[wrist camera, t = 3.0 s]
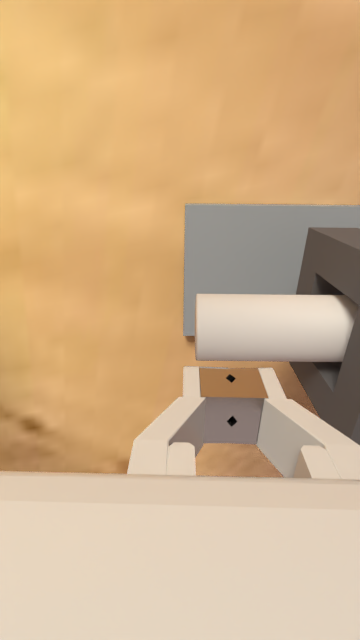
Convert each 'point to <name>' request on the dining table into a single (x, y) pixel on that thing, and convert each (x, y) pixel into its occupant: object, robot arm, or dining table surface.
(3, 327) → the dining table surface
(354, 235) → the grey rectangular frame
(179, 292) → the dining table surface
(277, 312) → the pipe stand
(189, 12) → the dining table surface
